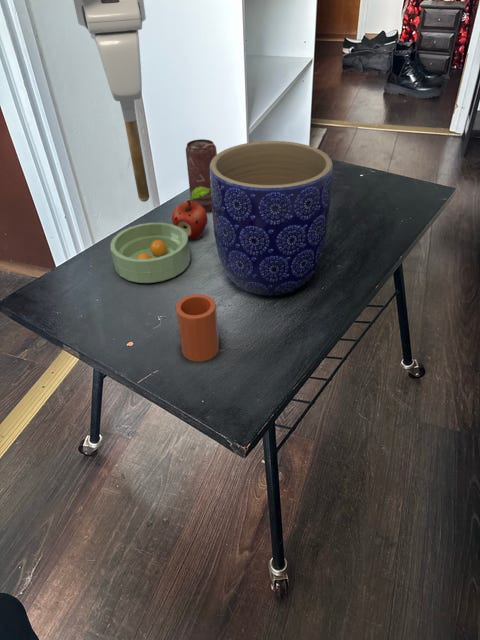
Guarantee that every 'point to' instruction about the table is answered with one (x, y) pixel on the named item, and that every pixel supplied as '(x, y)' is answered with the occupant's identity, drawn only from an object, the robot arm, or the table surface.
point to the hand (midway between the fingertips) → (129, 117)
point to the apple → (191, 214)
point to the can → (200, 168)
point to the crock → (198, 327)
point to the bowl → (139, 241)
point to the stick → (137, 159)
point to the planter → (270, 213)
